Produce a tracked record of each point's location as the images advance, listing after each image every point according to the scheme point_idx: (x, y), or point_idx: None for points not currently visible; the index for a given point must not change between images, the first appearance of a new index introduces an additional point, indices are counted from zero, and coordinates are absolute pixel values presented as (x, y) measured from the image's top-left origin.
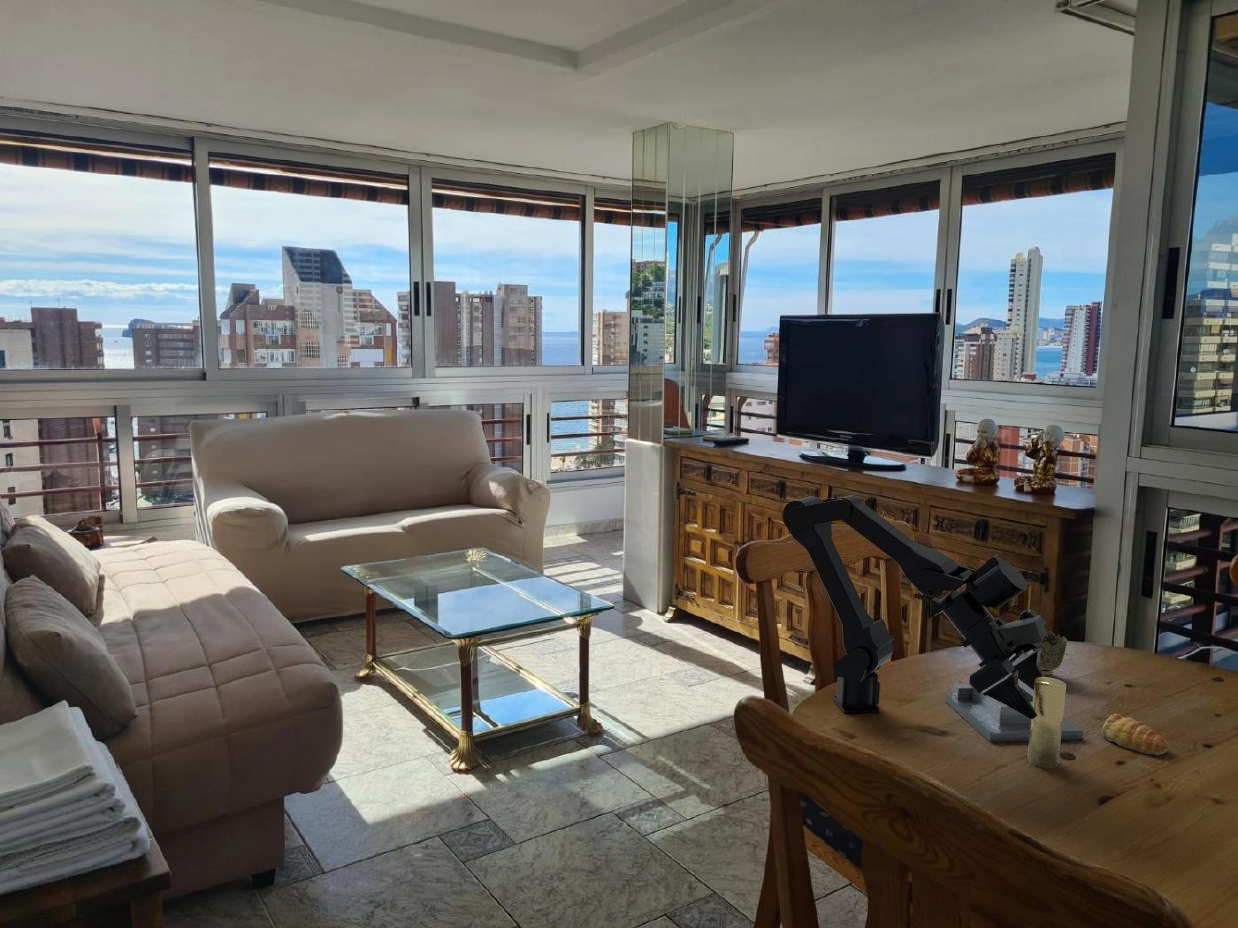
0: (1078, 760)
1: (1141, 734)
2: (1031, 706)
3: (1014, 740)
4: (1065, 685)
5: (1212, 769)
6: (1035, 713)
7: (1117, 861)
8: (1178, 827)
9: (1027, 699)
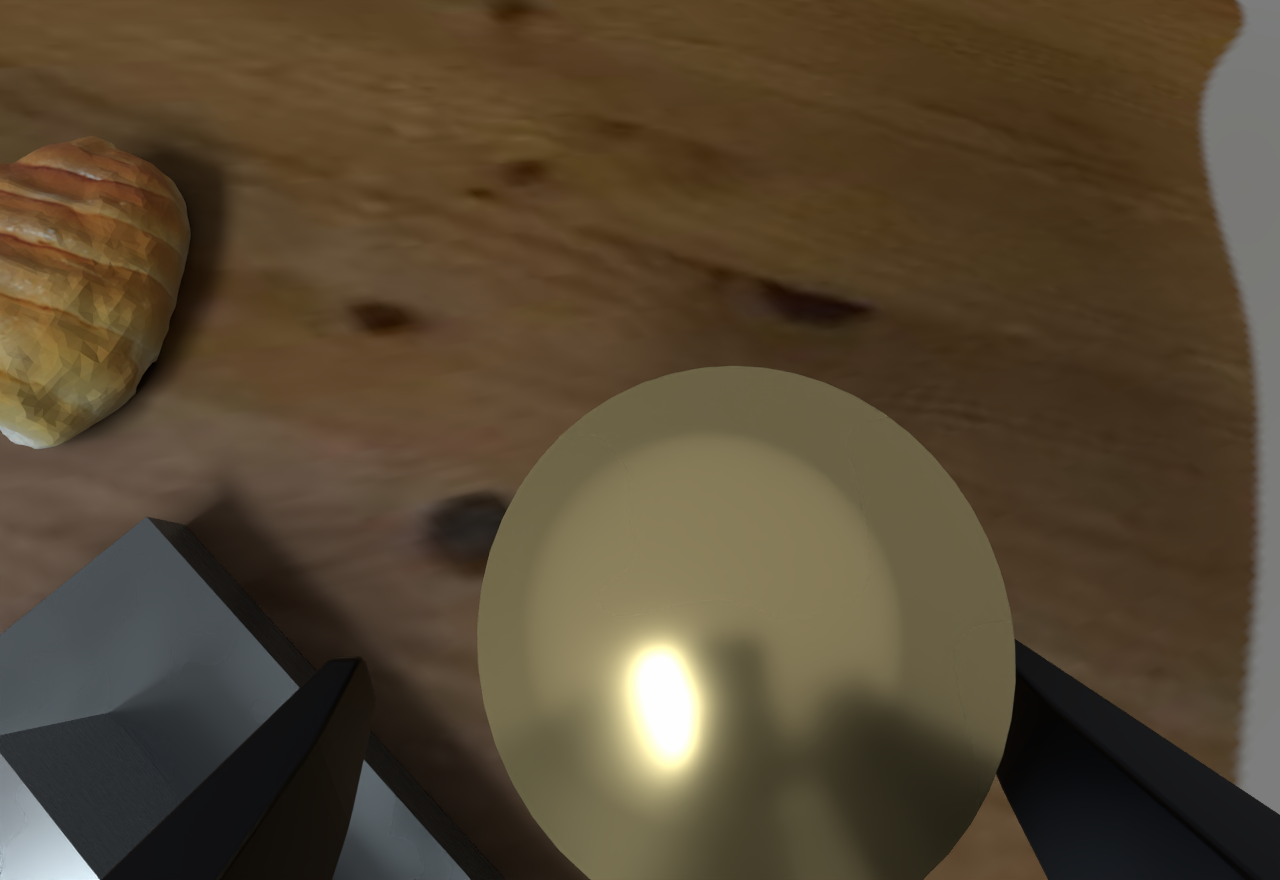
0: (492, 474)
1: (82, 225)
2: (1079, 706)
3: (468, 843)
4: (701, 379)
5: (206, 30)
6: (1021, 646)
7: (1200, 199)
8: (822, 86)
9: (1167, 783)
